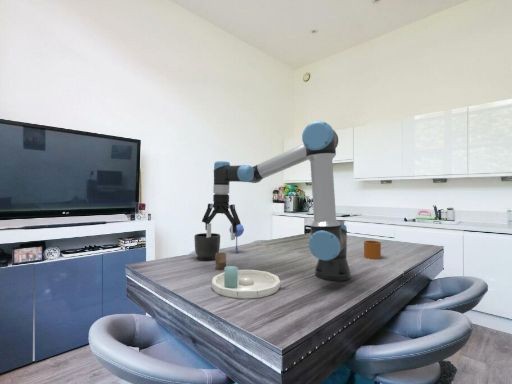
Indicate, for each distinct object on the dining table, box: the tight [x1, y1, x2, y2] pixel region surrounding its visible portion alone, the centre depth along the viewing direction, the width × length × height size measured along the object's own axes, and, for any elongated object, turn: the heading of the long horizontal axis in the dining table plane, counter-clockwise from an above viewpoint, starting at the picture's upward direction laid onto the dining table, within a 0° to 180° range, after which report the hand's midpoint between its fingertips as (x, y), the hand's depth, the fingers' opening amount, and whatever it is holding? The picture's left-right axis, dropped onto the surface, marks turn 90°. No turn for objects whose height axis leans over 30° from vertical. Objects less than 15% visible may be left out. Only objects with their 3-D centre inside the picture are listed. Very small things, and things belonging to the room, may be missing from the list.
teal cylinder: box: [223, 265, 239, 289], centre depth 104 cm, size 5×5×7 cm
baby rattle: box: [229, 224, 245, 254], centre depth 165 cm, size 9×9×18 cm
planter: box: [194, 232, 221, 261], centre depth 150 cm, size 14×14×13 cm
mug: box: [363, 240, 382, 260], centre depth 157 cm, size 9×12×9 cm
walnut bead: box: [214, 252, 227, 271], centre depth 131 cm, size 5×5×7 cm
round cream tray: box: [211, 269, 281, 300], centre depth 107 cm, size 26×26×3 cm
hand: (220, 238), depth 131 cm, fingers open, 13 cm apart
